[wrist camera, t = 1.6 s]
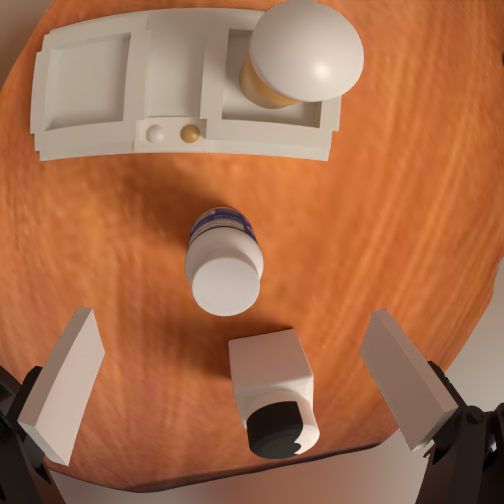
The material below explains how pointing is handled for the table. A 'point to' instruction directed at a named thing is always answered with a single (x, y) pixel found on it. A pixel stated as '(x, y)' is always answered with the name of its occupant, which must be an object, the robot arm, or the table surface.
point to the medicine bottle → (274, 393)
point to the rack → (195, 82)
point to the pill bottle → (223, 262)
